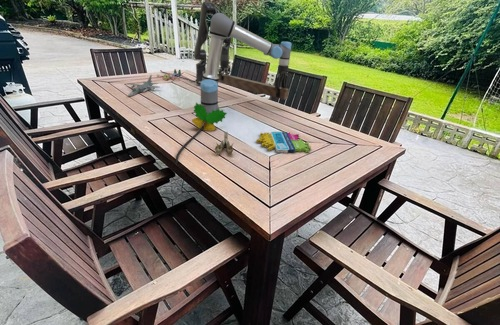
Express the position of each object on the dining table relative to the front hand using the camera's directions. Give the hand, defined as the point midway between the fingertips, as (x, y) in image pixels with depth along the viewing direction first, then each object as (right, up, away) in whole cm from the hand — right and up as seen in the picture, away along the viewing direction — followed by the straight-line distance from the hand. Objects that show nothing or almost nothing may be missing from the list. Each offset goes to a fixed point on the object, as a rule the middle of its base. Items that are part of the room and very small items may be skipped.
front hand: (279, 96), depth 201 cm
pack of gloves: (-4, -40, -49) cm, 63 cm away
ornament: (-48, -30, -37) cm, 67 cm away
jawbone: (-36, -45, -63) cm, 85 cm away
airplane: (-117, +12, +29) cm, 121 cm away
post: (-23, +10, +16) cm, 29 cm away
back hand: (-46, +22, +29) cm, 59 cm away
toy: (-108, +41, +81) cm, 141 cm away
